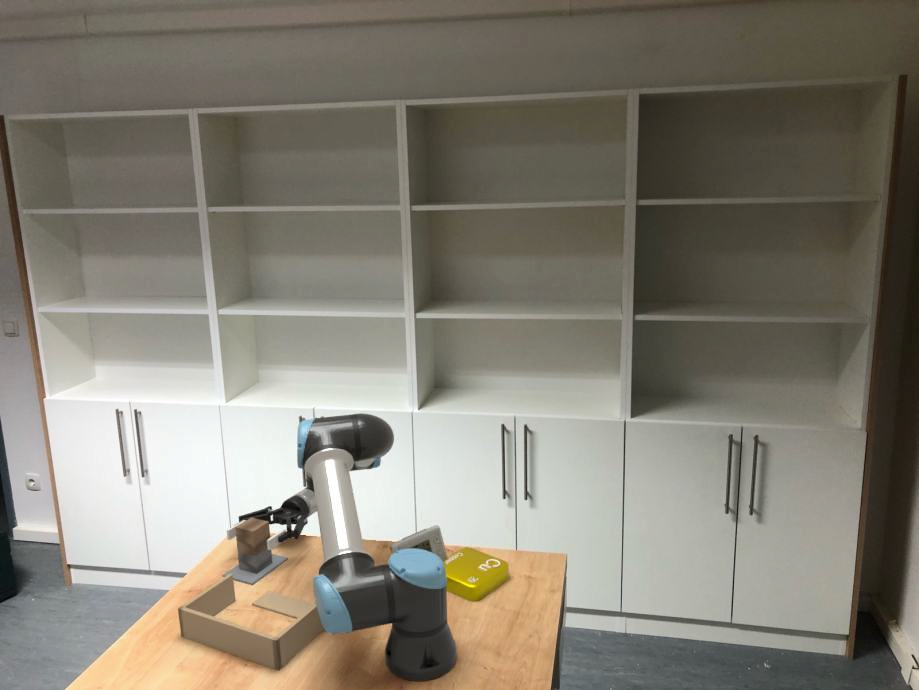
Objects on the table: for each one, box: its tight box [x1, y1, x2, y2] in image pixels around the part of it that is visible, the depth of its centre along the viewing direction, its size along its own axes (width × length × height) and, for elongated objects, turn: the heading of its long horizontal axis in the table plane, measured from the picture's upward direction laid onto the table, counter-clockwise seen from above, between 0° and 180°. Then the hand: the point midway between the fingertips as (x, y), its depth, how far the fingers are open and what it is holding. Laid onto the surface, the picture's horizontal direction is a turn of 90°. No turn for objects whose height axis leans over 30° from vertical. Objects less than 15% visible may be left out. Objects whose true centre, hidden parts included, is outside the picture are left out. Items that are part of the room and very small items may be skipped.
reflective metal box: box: [235, 518, 273, 574], centre depth 187 cm, size 6×6×12 cm
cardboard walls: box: [177, 574, 325, 671], centre depth 162 cm, size 28×22×7 cm
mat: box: [222, 553, 289, 586], centre depth 188 cm, size 10×14×1 cm
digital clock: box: [389, 524, 449, 561], centre depth 183 cm, size 16×9×11 cm, turn 121°
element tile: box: [443, 546, 510, 602], centre depth 179 cm, size 15×15×5 cm
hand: (247, 540), depth 184 cm, fingers open, 13 cm apart
